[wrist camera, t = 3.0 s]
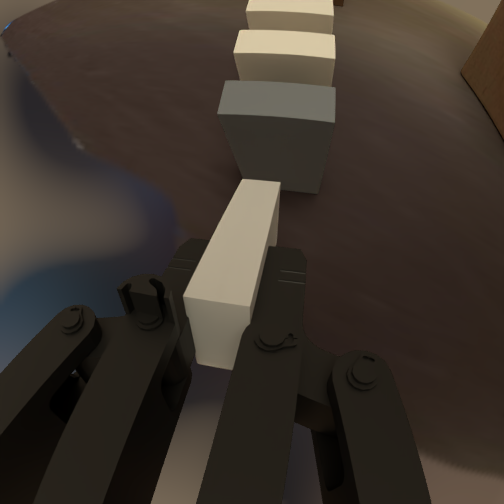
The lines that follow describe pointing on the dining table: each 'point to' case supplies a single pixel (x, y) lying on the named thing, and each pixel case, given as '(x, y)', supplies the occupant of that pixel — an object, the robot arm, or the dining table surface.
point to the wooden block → (489, 69)
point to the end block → (338, 2)
